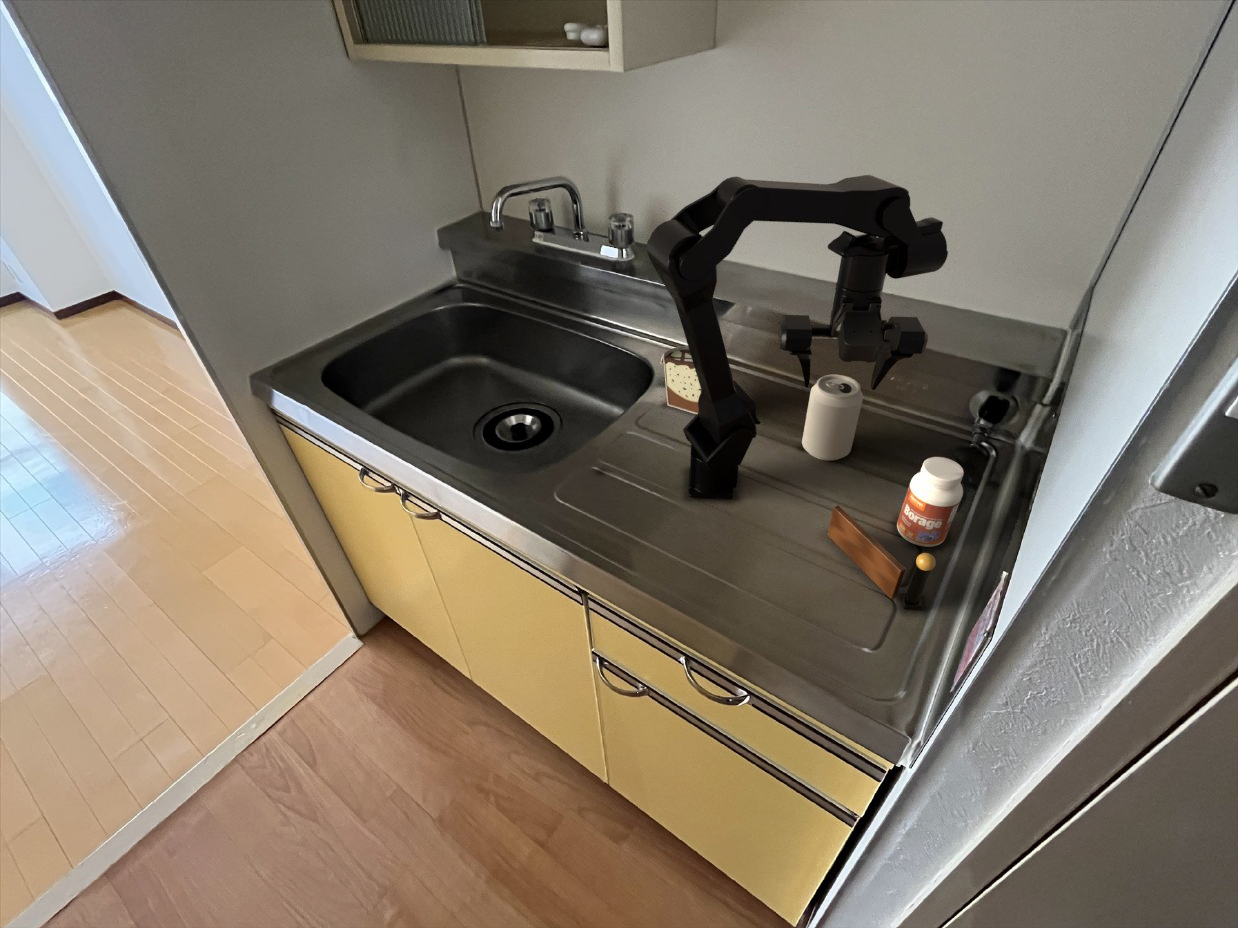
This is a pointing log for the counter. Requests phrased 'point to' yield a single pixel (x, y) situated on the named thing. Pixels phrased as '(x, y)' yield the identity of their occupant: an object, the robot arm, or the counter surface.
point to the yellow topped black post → (918, 582)
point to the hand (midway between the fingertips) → (839, 387)
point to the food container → (681, 379)
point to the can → (832, 417)
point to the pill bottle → (931, 502)
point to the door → (866, 552)
